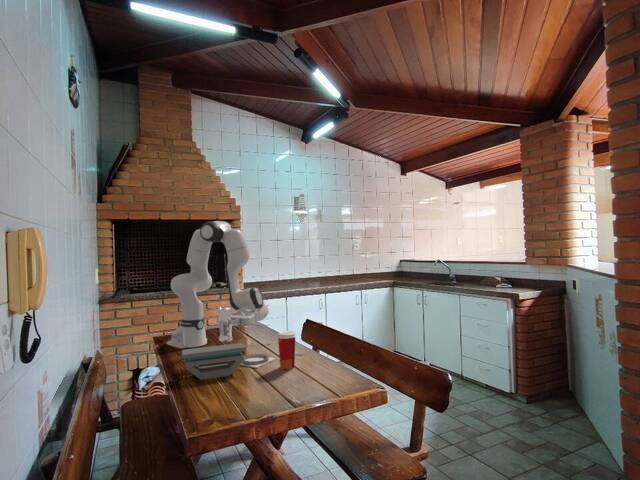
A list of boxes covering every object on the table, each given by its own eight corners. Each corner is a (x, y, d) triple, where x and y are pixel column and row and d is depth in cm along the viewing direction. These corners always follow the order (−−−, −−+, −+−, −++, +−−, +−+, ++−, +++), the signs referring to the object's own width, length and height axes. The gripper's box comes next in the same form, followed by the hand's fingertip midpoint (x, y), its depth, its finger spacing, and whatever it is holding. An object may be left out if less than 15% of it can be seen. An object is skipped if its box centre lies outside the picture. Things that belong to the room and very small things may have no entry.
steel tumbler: (229, 342, 176) (229, 309, 176) (215, 342, 177) (215, 309, 177) (235, 338, 183) (235, 307, 183) (222, 338, 184) (221, 307, 184)
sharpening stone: (183, 382, 150) (182, 354, 150) (182, 376, 158) (181, 350, 158) (246, 373, 160) (245, 347, 160) (242, 367, 167) (242, 342, 167)
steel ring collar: (235, 362, 172) (235, 359, 172) (253, 355, 183) (253, 352, 183) (256, 366, 166) (256, 363, 166) (273, 358, 177) (273, 356, 177)
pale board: (233, 364, 172) (233, 362, 172) (253, 355, 184) (253, 354, 184) (257, 368, 165) (257, 367, 165) (276, 359, 177) (276, 358, 177)
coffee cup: (288, 363, 171) (287, 329, 172) (300, 367, 166) (299, 332, 166) (273, 367, 166) (273, 333, 166) (285, 372, 160) (285, 336, 160)
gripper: (228, 308, 196) (208, 313, 184) (259, 311, 186) (240, 317, 174) (228, 321, 196) (208, 326, 184) (259, 324, 186) (240, 330, 174)
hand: (224, 322), depth 179 cm, fingers closed on steel tumbler, 6 cm apart
